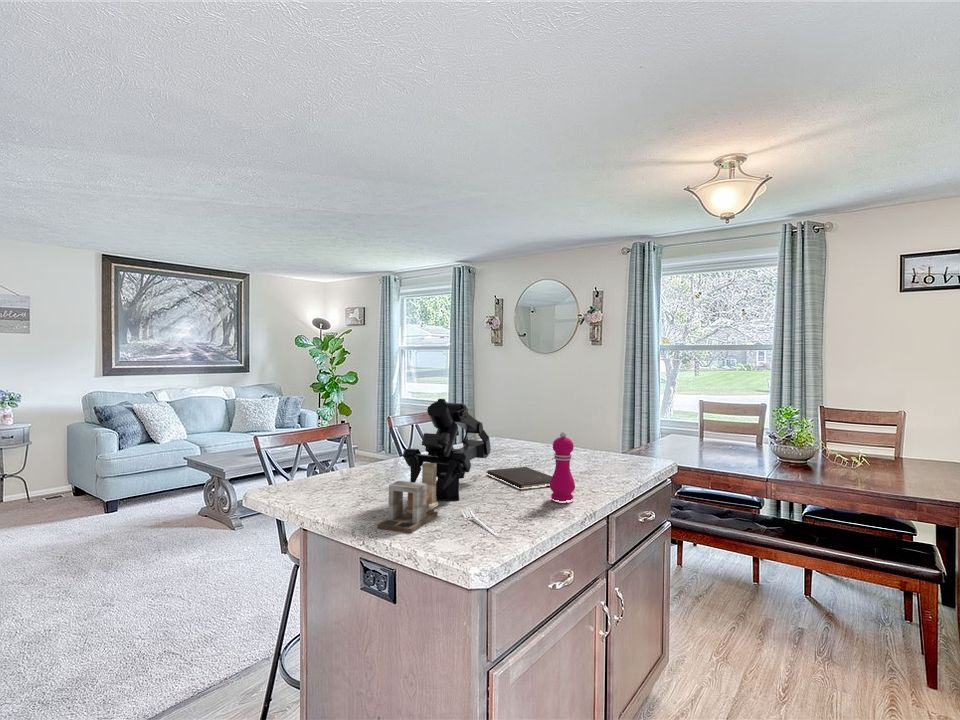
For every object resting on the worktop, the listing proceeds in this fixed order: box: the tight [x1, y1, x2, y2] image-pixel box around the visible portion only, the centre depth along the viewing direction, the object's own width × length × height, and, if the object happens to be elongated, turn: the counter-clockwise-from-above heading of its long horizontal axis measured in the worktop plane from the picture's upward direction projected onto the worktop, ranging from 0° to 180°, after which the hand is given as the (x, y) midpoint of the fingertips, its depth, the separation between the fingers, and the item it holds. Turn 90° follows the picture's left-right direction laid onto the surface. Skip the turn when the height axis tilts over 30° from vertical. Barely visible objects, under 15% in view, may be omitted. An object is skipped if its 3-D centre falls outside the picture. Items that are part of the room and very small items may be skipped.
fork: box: [460, 507, 499, 536], centre depth 126 cm, size 3×20×2 cm, turn 24°
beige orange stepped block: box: [406, 462, 439, 514], centre depth 134 cm, size 10×4×11 cm, turn 160°
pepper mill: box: [549, 431, 576, 501], centre depth 149 cm, size 7×7×20 cm
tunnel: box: [376, 480, 439, 534], centre depth 127 cm, size 14×9×9 cm, turn 160°
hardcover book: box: [486, 466, 553, 488], centre depth 174 cm, size 16×23×2 cm
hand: (427, 486), depth 137 cm, fingers open, 9 cm apart
